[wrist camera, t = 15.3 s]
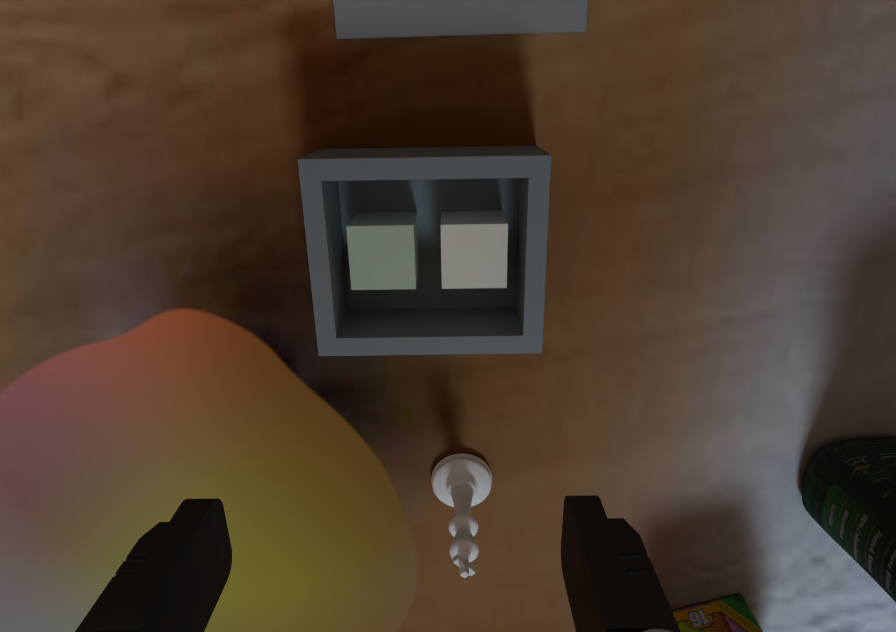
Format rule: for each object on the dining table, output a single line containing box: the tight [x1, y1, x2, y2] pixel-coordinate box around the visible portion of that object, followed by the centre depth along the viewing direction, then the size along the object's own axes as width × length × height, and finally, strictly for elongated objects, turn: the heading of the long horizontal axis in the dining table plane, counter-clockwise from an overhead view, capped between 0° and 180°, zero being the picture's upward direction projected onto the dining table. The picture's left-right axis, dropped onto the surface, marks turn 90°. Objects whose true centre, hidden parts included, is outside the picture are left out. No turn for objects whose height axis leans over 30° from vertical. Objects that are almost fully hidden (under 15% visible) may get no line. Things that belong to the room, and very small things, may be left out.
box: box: [298, 145, 551, 356], centre depth 37 cm, size 14×12×6 cm
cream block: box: [441, 211, 508, 289], centre depth 37 cm, size 4×4×4 cm
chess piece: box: [431, 453, 492, 578], centre depth 42 cm, size 5×5×10 cm
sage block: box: [346, 212, 419, 290], centre depth 37 cm, size 4×4×4 cm
